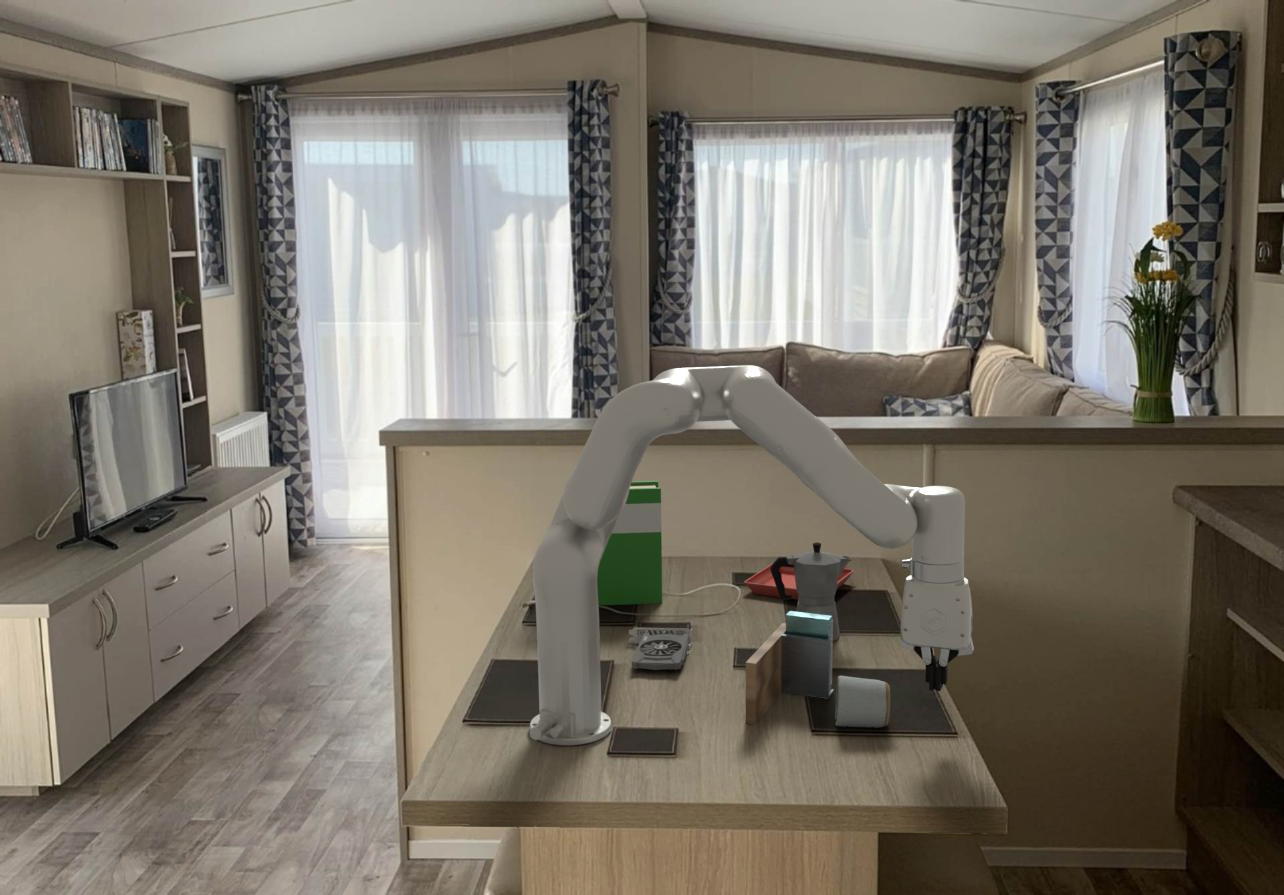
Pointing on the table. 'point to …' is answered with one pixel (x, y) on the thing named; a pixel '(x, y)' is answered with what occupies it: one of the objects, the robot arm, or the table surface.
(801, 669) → the bookend and books
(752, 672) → the wooden board
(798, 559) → the coffeepot
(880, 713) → the ceramic mug
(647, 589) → the hardback book
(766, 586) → the plant saucer
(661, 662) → the graphics card
